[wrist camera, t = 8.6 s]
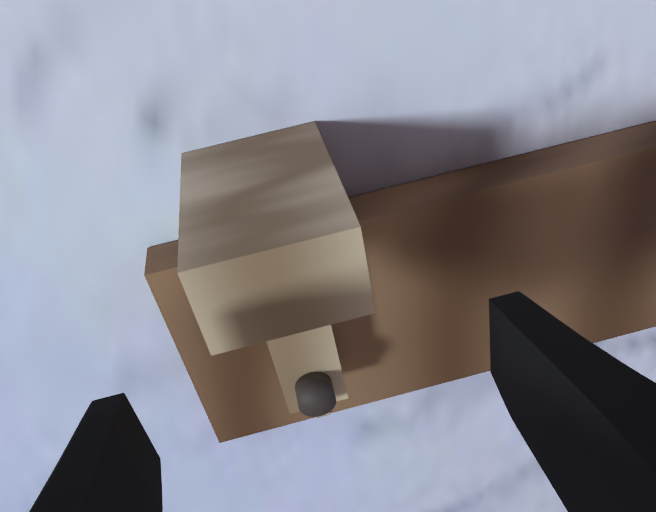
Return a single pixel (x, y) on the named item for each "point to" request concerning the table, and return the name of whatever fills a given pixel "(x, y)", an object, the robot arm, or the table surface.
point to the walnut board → (457, 274)
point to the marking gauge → (274, 256)
